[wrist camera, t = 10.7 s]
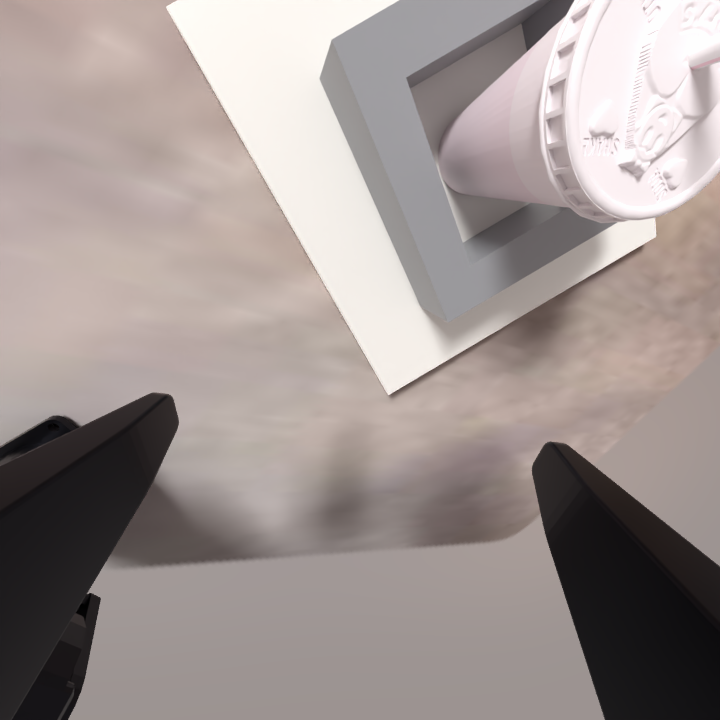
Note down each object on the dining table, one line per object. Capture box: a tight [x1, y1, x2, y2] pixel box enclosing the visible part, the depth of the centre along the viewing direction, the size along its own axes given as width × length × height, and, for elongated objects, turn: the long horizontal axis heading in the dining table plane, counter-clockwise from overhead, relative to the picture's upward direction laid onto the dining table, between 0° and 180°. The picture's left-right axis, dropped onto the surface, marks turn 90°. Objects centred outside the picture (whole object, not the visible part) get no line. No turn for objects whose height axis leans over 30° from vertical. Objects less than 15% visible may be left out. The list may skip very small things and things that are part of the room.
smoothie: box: [438, 0, 720, 223], centre depth 11 cm, size 6×6×14 cm
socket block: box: [166, 0, 656, 395], centre depth 16 cm, size 20×20×4 cm
